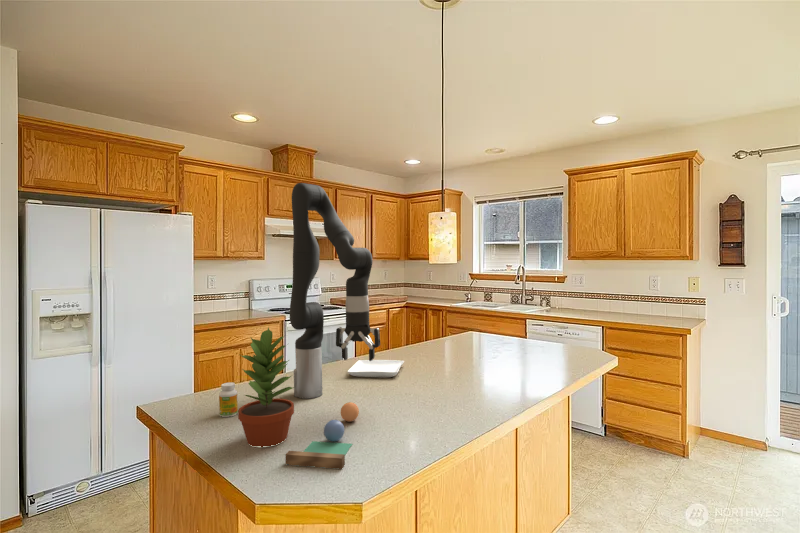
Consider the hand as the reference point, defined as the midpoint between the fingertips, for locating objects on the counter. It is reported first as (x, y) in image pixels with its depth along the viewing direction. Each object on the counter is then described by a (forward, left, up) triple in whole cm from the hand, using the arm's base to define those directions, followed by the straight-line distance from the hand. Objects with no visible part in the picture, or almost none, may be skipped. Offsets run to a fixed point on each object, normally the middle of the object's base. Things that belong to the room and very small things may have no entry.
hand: (358, 360), depth 137 cm
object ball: (0, -24, -13) cm, 27 cm away
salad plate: (-5, +45, -17) cm, 49 cm away
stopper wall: (0, -37, -16) cm, 41 cm away
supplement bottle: (-40, -10, -16) cm, 44 cm away
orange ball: (0, -10, -13) cm, 16 cm away
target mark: (0, -31, -16) cm, 35 cm away
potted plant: (-18, -26, -16) cm, 35 cm away
